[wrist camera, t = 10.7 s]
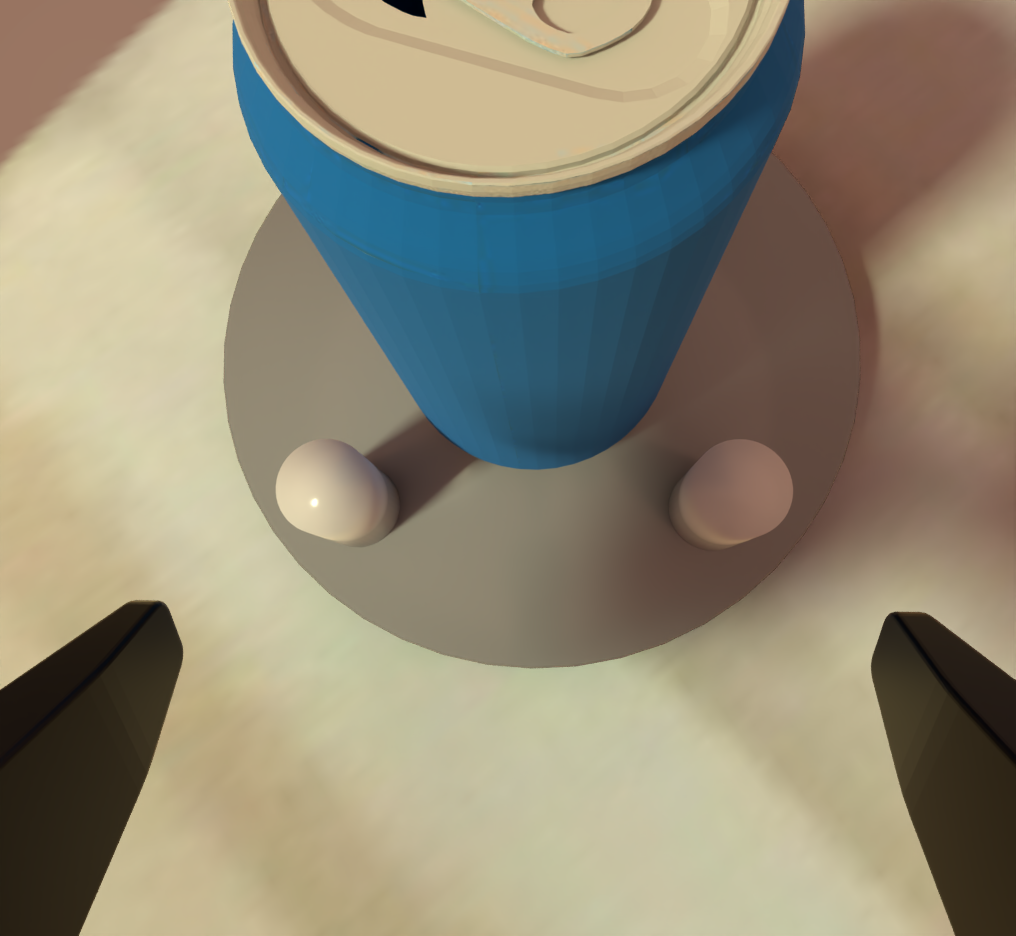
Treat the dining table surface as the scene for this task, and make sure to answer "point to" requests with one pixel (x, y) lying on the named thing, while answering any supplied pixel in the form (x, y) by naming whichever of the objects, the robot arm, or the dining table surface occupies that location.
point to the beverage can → (520, 188)
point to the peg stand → (558, 491)
